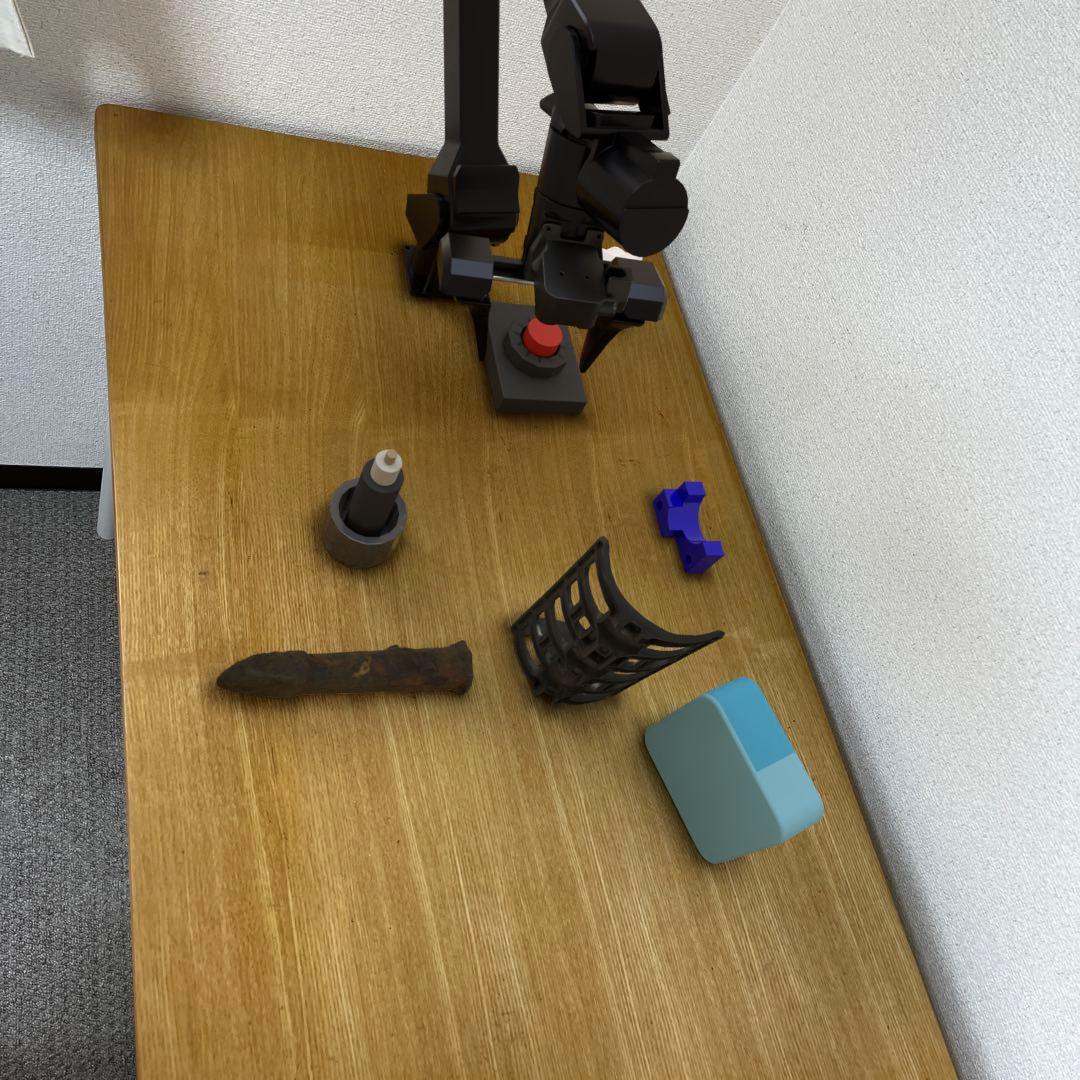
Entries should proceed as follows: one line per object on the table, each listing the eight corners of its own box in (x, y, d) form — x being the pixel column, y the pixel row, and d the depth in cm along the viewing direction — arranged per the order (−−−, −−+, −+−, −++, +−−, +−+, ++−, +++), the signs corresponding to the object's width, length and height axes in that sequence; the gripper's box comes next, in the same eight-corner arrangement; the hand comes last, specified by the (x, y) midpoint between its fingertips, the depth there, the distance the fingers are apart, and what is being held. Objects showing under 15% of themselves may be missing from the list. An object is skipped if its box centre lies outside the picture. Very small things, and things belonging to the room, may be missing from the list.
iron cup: (318, 503, 76) (326, 476, 73) (390, 503, 79) (401, 477, 75) (325, 569, 74) (334, 545, 70) (399, 567, 76) (411, 543, 73)
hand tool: (459, 653, 75) (475, 632, 71) (463, 699, 73) (480, 680, 69) (217, 653, 68) (221, 629, 64) (216, 704, 66) (219, 683, 62)
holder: (630, 656, 80) (743, 579, 62) (604, 734, 76) (716, 676, 59) (519, 603, 79) (603, 509, 61) (488, 679, 75) (567, 603, 58)
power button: (519, 327, 89) (525, 315, 88) (552, 329, 90) (558, 318, 89) (526, 356, 88) (532, 345, 86) (559, 358, 89) (566, 347, 88)
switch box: (475, 315, 93) (487, 289, 89) (554, 322, 96) (568, 297, 93) (496, 412, 88) (509, 388, 84) (578, 415, 91) (594, 392, 88)
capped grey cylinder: (335, 520, 76) (364, 438, 65) (371, 512, 77) (404, 432, 67) (348, 553, 75) (378, 475, 64) (384, 544, 76) (419, 468, 66)
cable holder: (652, 501, 90) (671, 481, 86) (682, 501, 91) (702, 481, 88) (672, 574, 86) (693, 555, 83) (703, 573, 88) (724, 554, 84)
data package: (745, 845, 76) (833, 816, 66) (705, 868, 73) (790, 842, 64) (677, 715, 79) (751, 669, 69) (638, 733, 77) (708, 689, 67)
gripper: (460, 222, 61) (430, 408, 72) (712, 259, 66) (650, 429, 76) (450, 158, 69) (425, 334, 80) (676, 195, 74) (624, 357, 84)
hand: (531, 365), depth 80 cm, fingers open, 9 cm apart
